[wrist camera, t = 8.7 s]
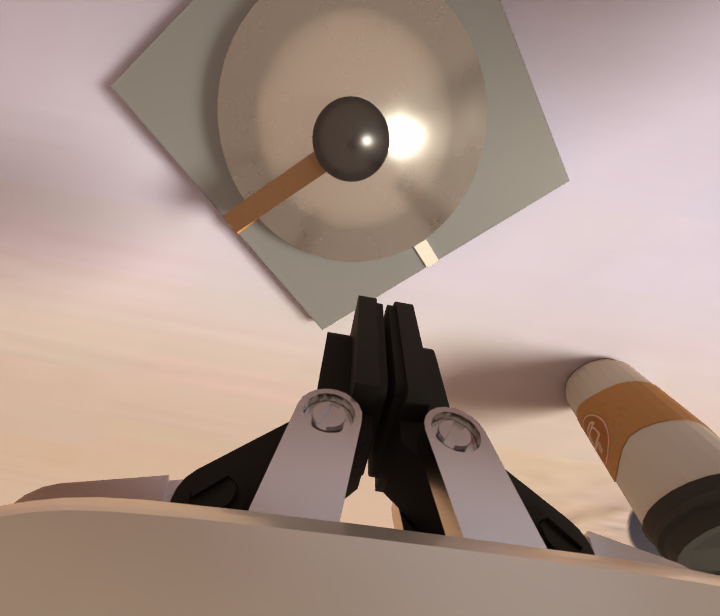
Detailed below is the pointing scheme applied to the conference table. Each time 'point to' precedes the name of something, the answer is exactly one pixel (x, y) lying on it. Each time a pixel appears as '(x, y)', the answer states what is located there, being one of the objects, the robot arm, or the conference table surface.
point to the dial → (351, 122)
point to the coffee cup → (654, 459)
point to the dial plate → (289, 264)
